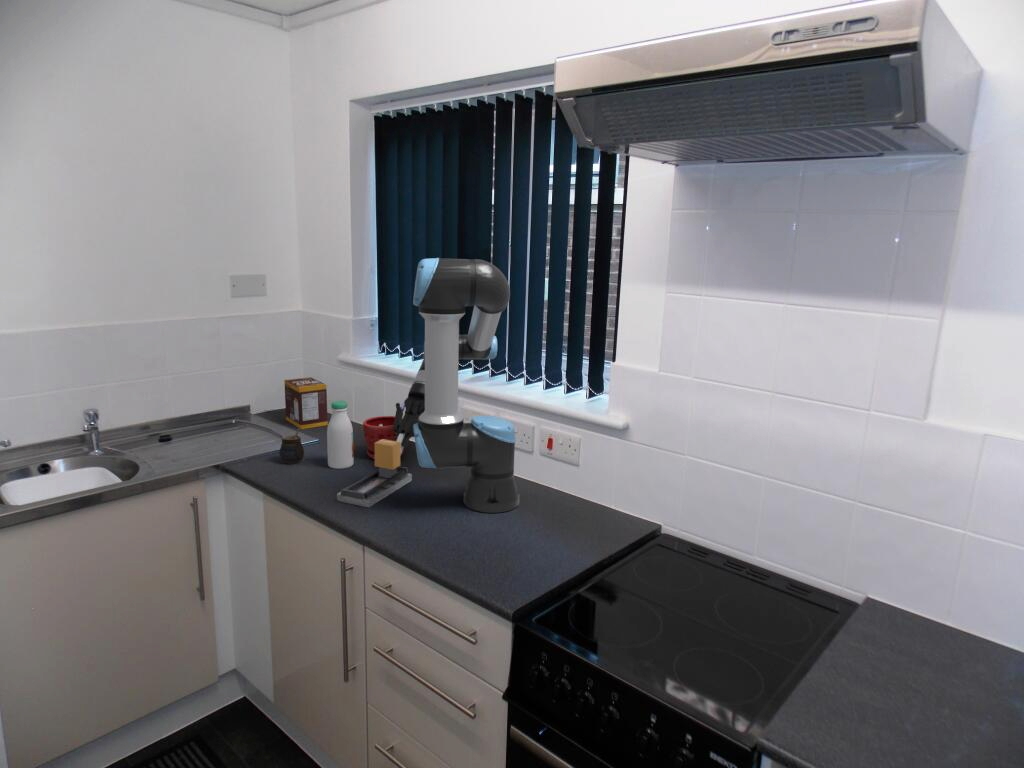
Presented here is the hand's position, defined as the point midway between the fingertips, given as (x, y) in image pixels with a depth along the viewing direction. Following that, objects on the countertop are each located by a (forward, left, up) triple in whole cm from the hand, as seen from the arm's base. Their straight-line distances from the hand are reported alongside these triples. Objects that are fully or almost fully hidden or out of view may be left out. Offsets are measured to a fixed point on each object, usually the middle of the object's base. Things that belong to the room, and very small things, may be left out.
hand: (395, 455), depth 195 cm
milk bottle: (+20, +5, -7) cm, 22 cm away
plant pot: (+18, -10, -7) cm, 22 cm away
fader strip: (-4, +10, -7) cm, 13 cm away
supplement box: (+68, -12, -7) cm, 69 cm away
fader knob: (-2, +4, -5) cm, 7 cm away
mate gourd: (+33, +14, -7) cm, 37 cm away
